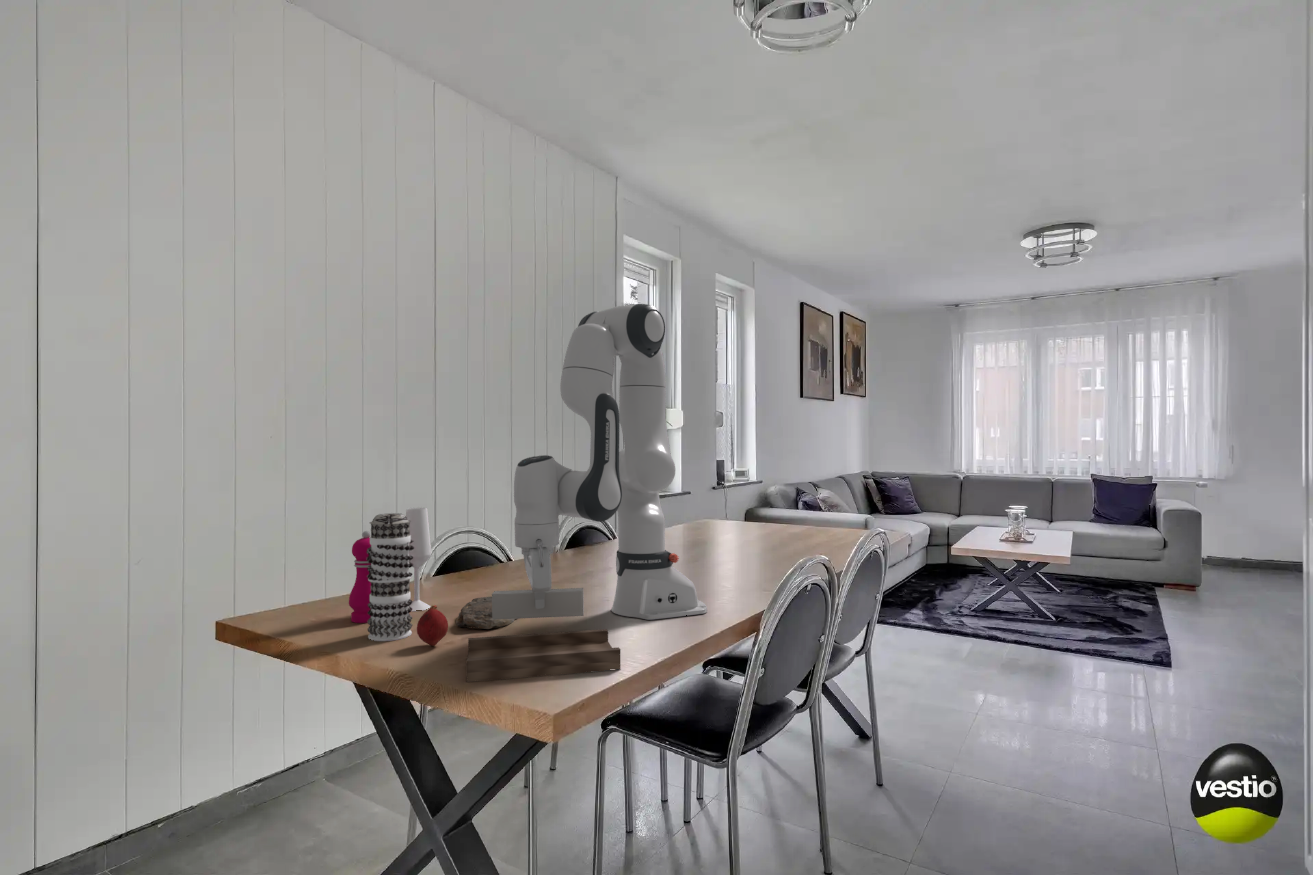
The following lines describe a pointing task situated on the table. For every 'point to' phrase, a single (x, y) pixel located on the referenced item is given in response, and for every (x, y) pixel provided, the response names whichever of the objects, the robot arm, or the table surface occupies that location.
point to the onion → (432, 626)
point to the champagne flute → (419, 548)
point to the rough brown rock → (480, 615)
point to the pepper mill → (361, 581)
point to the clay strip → (523, 604)
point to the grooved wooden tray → (540, 655)
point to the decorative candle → (389, 577)
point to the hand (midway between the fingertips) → (538, 605)
